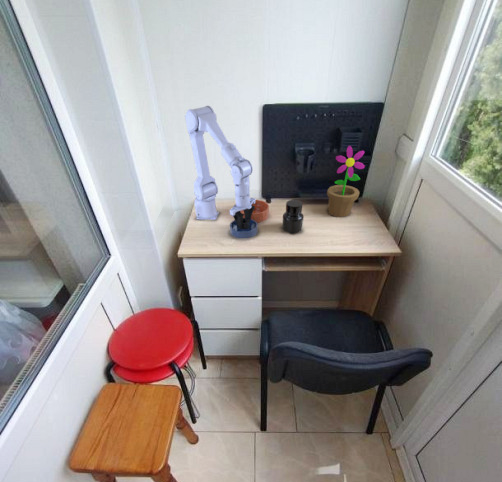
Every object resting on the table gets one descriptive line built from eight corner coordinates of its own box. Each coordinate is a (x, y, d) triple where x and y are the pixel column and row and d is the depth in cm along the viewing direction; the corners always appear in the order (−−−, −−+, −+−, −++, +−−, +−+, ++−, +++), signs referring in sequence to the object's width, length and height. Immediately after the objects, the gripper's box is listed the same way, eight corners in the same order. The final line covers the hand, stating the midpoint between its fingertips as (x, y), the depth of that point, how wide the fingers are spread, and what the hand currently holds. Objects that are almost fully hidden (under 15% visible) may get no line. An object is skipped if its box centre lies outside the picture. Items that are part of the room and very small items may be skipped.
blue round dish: (228, 238, 121) (227, 231, 119) (233, 224, 130) (232, 217, 127) (255, 240, 120) (255, 232, 118) (259, 226, 129) (259, 218, 126)
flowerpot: (323, 217, 133) (335, 147, 113) (324, 204, 143) (336, 137, 123) (354, 220, 131) (372, 149, 110) (353, 206, 141) (370, 139, 120)
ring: (237, 229, 122) (236, 223, 120) (239, 223, 125) (238, 217, 123) (248, 229, 121) (248, 223, 119) (250, 224, 125) (250, 218, 123)
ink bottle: (306, 230, 125) (310, 204, 117) (292, 236, 121) (294, 210, 113) (291, 221, 131) (294, 196, 122) (277, 227, 127) (278, 202, 119)
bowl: (234, 223, 131) (234, 213, 127) (240, 208, 142) (239, 198, 138) (267, 225, 129) (267, 214, 126) (270, 210, 140) (270, 200, 136)
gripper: (238, 202, 107) (240, 234, 117) (261, 190, 115) (260, 220, 125) (224, 198, 110) (227, 229, 120) (247, 186, 118) (248, 216, 128)
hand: (243, 224), depth 122 cm, fingers closed on ring, 5 cm apart
